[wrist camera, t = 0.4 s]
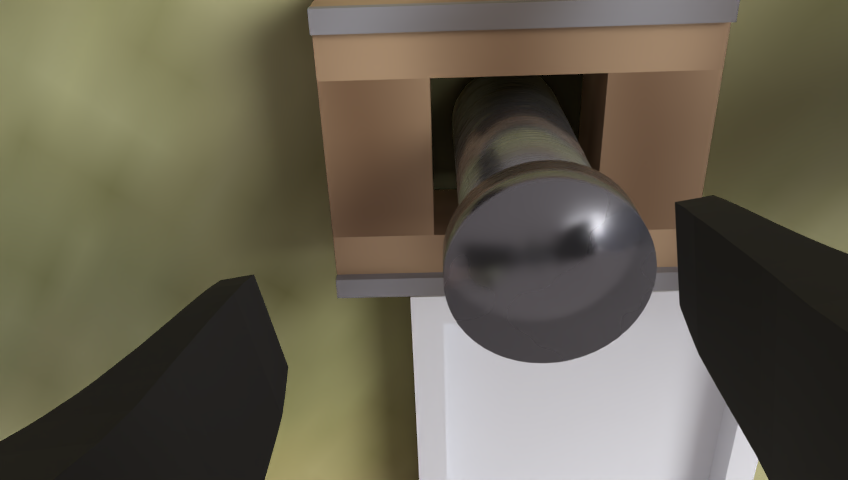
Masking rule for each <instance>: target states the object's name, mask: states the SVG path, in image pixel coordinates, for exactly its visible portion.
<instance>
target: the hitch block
mask: <svg viewBox="0 0 848 480" xmlns="http://www.w3.org/2000/svg"><path fill="white" fill-rule="evenodd" d="M739 3H740V0H314V1H313V2H312V3H311V5H310V6H309V7H308V9H307V12H308V22H309V31H310V35H312V40H313V49H314V59H315V68H316V78H317V88H318V97H319V107H320V116H321V126H322V136H323V145H324V155H325V164H326V174H327V184H328V193H329V203H330V212H331V222H332V232H333V241H334V251H335V260H336V270H337V277H336V287H337V297H338V298H364V297H408V296H445V293H444V283H443V242H444V237H445V232H446V229H447V227H448V224H449V221H450V219H451V217H452V215H453V214H454V212H455V210H456V208H457V207H458V206H459V205H458V193H457V189H452V190H434V184H433V148H432V112H431V78H455V77H489V76H524V75H558V74H583V84H582V97H581V111H580V124H579V138H578V142H579V144H580V146H581V148H582V150H583V152H584V154H585V156H586V158H587V160H588V162H589V164H590V166H591V168H592V169H595V170H597V171H599V172H601V173H602V174H604V175H606V176H607V177H609V178H610V179H612V180H613V181H614V182H615V183H616V184H618V185H619V186H620V187H621V188H622V189H623V191H624V192H625V193H626V194H627V195H628V196H629V198H630V200H631V201H632V203H633V204H634V206H635V208H636V209H637V211H638V213H639V215H640V216H641V218H642V220H643V222H644V223H645V225H646V227H647V229H648V231H649V233H650V235H651V238H652V240H653V243H654V247H655V251H656V259H657V272H656V279H655V284H654V288H653V291H673V290H679V284H678V263H677V241H676V219H675V202H678V201H683V200H689V199H695V198H701V197H702V194H703V188H704V182H705V176H706V170H707V164H708V158H709V152H710V146H711V140H712V134H713V128H714V122H715V116H716V110H717V104H718V98H719V92H720V86H721V80H722V74H723V68H724V62H725V56H726V50H727V44H728V38H729V32H730V26H731V22H736V21H737V15H738V9H739Z"/></svg>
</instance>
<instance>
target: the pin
mask: <svg viewBox="0 0 848 480" xmlns="http://www.w3.org/2000/svg"><path fill="white" fill-rule="evenodd" d="M452 130H453V142H454V155H455V167H456V180H457V193H458V205H459V206H458V207H457V208H456V210H455V212H454V214H453V215H452V217H451V219H450V221H449V224H448V227H447V229H446V232H445V237H444V242H443V283H444V293H445V297H446V301H447V304H448V307H449V309H450V311H451V314H452V316H453V317H454V319H455V320H456V322H457V324H458V325H459V326H460V327H461V329H462V330H463V331H464V332H465V333H466V334H467V335H468V336H469V337H470V338H471V339H472V340H473V341H474V342H476V343H477V344H479V345H480V346H482V347H483V348H485V349H487V350H489V351H491V352H492V353H494V354H497V355H499V356H502V357H505V358H508V359H512V360H516V361H521V362H528V363H557V362H563V361H569V360H573V359H576V358H580V357H583V356H586V355H588V354H591V353H593V352H596V351H597V350H599V349H601V348H603V347H605V346H607V345H608V344H610V343H611V342H613V341H614V340H616V339H617V338H619V337H620V336H621V335H622V334H623V333H624V332H626V331H627V330H628V329H629V328H630V327H631V326H632V324H633V323H634V322H635V321H636V320H637V319H638V317H639V316H640V315H641V313H642V312H643V310H644V308H645V307H646V305H647V303H648V301H649V299H650V296H651V294H652V291H653V288H654V284H655V279H656V272H657V259H656V251H655V247H654V243H653V240H652V238H651V235H650V233H649V231H648V229H647V227H646V225H645V223H644V222H643V220H642V218H641V216H640V215H639V213H638V211H637V209H636V208H635V206H634V204H633V203H632V201H631V200H630V198H629V196H628V195H627V194H626V193H625V192H624V191H623V189H622V188H621V187H620V186H619V185H618V184H616V183H615V182H614V181H613V180H612V179H610V178H609V177H607V176H606V175H604V174H602V173H601V172H599V171H597V170H595V169H592V168H591V166H590V164H589V162H588V160H587V158H586V156H585V154H584V152H583V150H582V148H581V146H580V144H579V142H578V140H577V138H576V136H575V134H574V132H573V130H572V128H571V126H570V124H569V122H568V120H567V118H566V116H565V114H564V112H563V110H562V108H561V106H560V104H559V102H558V100H557V98H556V96H555V94H554V93H553V91H552V89H551V88H550V87H549V85H548V84H547V83H546V82H545V81H544V80H543V79H542V78H540V77H539V76H537V75H524V76H489V77H476V78H474V79H473V80H472V81H471V82H470V83H468V84H467V85H466V87H465V88H464V89H463V90H462V92H461V93H460V95H459V96H458V98H457V100H456V103H455V106H454V109H453V114H452Z"/></svg>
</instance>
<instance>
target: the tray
mask: <svg viewBox="0 0 848 480" xmlns="http://www.w3.org/2000/svg"><path fill="white" fill-rule="evenodd" d="M410 300H411V320H412V341H413V361H414V382H415V403H416V423H417V444H418V464H419V480H753V479H754V475H755V471H756V467H757V463H758V458H757V456H756V455H755V453H754V451H753V449H752V448H751V446H750V444H749V442H748V441H747V439H746V437H745V435H744V434H743V432H742V430H741V428H740V427H739V425H738V423H737V421H736V420H735V418H734V416H733V414H732V413H731V411H730V409H729V407H728V406H727V404H726V402H725V400H724V399H723V397H722V395H721V393H720V392H719V390H718V388H717V386H716V385H715V383H714V381H713V379H712V378H711V376H710V374H709V372H708V370H707V369H706V367H705V365H704V363H703V361H702V360H701V358H700V356H699V354H698V352H697V349H696V347H695V344H694V342H693V339H692V337H691V334H690V332H689V329H688V327H687V324H686V321H685V319H684V316H683V313H682V311H681V308H680V305H679V290H673V291H652V294H651V296H650V299H649V301H648V303H647V305H646V307H645V308H644V310H643V312H642V313H641V315H640V316H639V317H638V319H637V320H636V321H635V322H634V323H633V324H632V326H631V327H630V328H629V329H628V330H627V331H626V332H624V333H623V334H622V335H621V336H620V337H619V338H617V339H616V340H614V341H613V342H611V343H610V344H608V345H607V346H605V347H603V348H601V349H599V350H597V351H596V352H593V353H591V354H588V355H586V356H583V357H580V358H576V359H573V360H569V361H563V362H557V363H528V362H521V361H516V360H512V359H508V358H505V357H502V356H499V355H497V354H494V353H492V352H491V351H489V350H487V349H485V348H483V347H482V346H480V345H479V344H477V343H476V342H474V341H473V340H472V339H471V338H470V337H469V336H468V335H467V334H466V333H465V332H464V331H463V330H462V329H461V327H460V326H459V325H458V324H457V322H456V320H455V319H454V317H453V316H452V314H451V311H450V309H449V307H448V304H447V301H446V297H445V296H410Z"/></svg>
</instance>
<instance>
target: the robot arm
mask: <svg viewBox="0 0 848 480" xmlns="http://www.w3.org/2000/svg"><path fill="white" fill-rule="evenodd" d="M675 219H676V241H677V263H678V284H679V305H680V308H681V311H682V313H683V316H684V319H685V321H686V324H687V327H688V329H689V332H690V334H691V337H692V339H693V342H694V344H695V347H696V349H697V352H698V354H699V356H700V358H701V360H702V361H703V363H704V365H705V367H706V369H707V370H708V372H709V374H710V376H711V378H712V379H713V381H714V383H715V385H716V386H717V388H718V390H719V392H720V393H721V395H722V397H723V399H724V400H725V402H726V404H727V406H728V407H729V409H730V411H731V413H732V414H733V416H734V418H735V420H736V421H737V423H738V425H739V427H740V428H741V430H742V432H743V434H744V435H745V437H746V439H747V441H748V442H749V444H750V446H751V448H752V449H753V451H754V453H755V455H756V456H757V458H758V460H759V462H760V464H761V466H762V467H763V469H764V471H765V473H766V475H767V477H768V479H769V480H848V254H847V253H844V252H842V251H839V250H836V249H834V248H831V247H829V246H826V245H824V244H821V243H819V242H817V241H814V240H812V239H810V238H807V237H805V236H803V235H800V234H798V233H796V232H794V231H791V230H789V229H787V228H785V227H783V226H780V225H778V224H776V223H774V222H772V221H770V220H768V219H765V218H763V217H761V216H759V215H757V214H755V213H753V212H751V211H749V210H746V209H744V208H742V207H740V206H738V205H736V204H733V203H731V202H729V201H727V200H724V199H722V198H719V197H716V196H713V195H712V196H706V197H701V198H695V199H689V200H683V201H678V202H675ZM287 372H288V365H287V362H286V360H285V357H284V354H283V352H282V349H281V346H280V344H279V341H278V338H277V336H276V333H275V330H274V327H273V325H272V322H271V319H270V317H269V314H268V311H267V309H266V306H265V303H264V300H263V298H262V295H261V292H260V290H259V287H258V284H257V282H256V279H255V276H254V275H249V276H243V277H237V278H231V279H225V280H221V281H219V282H217V283H216V284H214V285H213V286H211V287H210V288H209V289H207V290H206V291H205V292H203V293H202V294H201V295H200V296H198V297H197V298H196V299H195V300H194V301H192V302H191V303H190V304H189V305H188V306H186V307H185V308H184V309H183V310H182V311H180V312H179V313H178V314H177V315H176V316H175V317H173V318H172V319H171V320H170V321H169V322H167V323H166V324H165V325H164V326H163V327H161V328H160V329H159V330H158V331H157V332H156V333H154V334H153V335H152V336H151V337H150V338H148V339H147V340H146V341H145V342H144V343H143V344H141V345H140V346H139V347H138V348H136V349H135V350H134V351H132V352H131V353H130V354H129V355H127V356H126V357H125V358H124V359H122V360H121V361H120V362H118V363H117V364H116V365H115V366H113V367H112V368H111V369H109V370H108V371H107V372H106V373H104V374H103V375H102V376H101V377H99V378H98V379H97V380H95V381H94V382H93V383H91V384H90V385H89V386H87V387H86V388H84V389H83V390H82V391H80V392H79V393H77V394H76V395H74V396H73V397H72V398H70V399H69V400H67V401H66V402H64V403H63V404H61V405H60V406H58V407H56V408H55V409H53V410H52V411H50V412H49V413H47V414H46V415H44V416H43V417H41V418H40V419H38V420H36V421H35V422H33V423H32V424H30V425H28V426H27V427H25V428H23V429H21V430H20V431H18V432H16V433H14V434H13V435H11V436H9V437H7V438H6V439H4V440H2V441H0V480H265V476H266V473H267V469H268V466H269V462H270V459H271V455H272V452H273V448H274V444H275V441H276V437H277V433H278V430H279V426H280V422H281V418H282V413H283V406H284V399H285V391H286V382H287Z"/></svg>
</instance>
